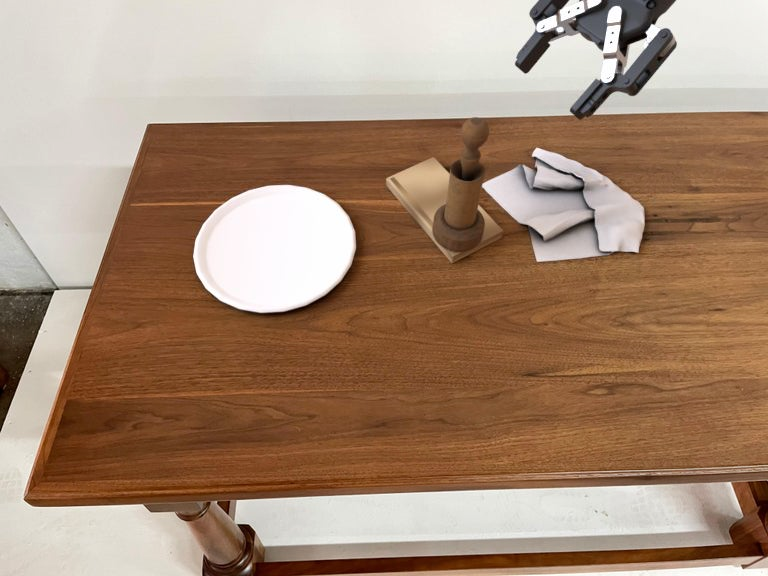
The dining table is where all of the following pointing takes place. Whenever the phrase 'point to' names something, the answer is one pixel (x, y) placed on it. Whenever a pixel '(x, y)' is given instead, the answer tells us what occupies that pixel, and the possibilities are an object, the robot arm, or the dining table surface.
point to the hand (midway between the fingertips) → (546, 91)
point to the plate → (274, 249)
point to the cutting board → (433, 201)
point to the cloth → (569, 208)
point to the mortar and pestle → (464, 194)
